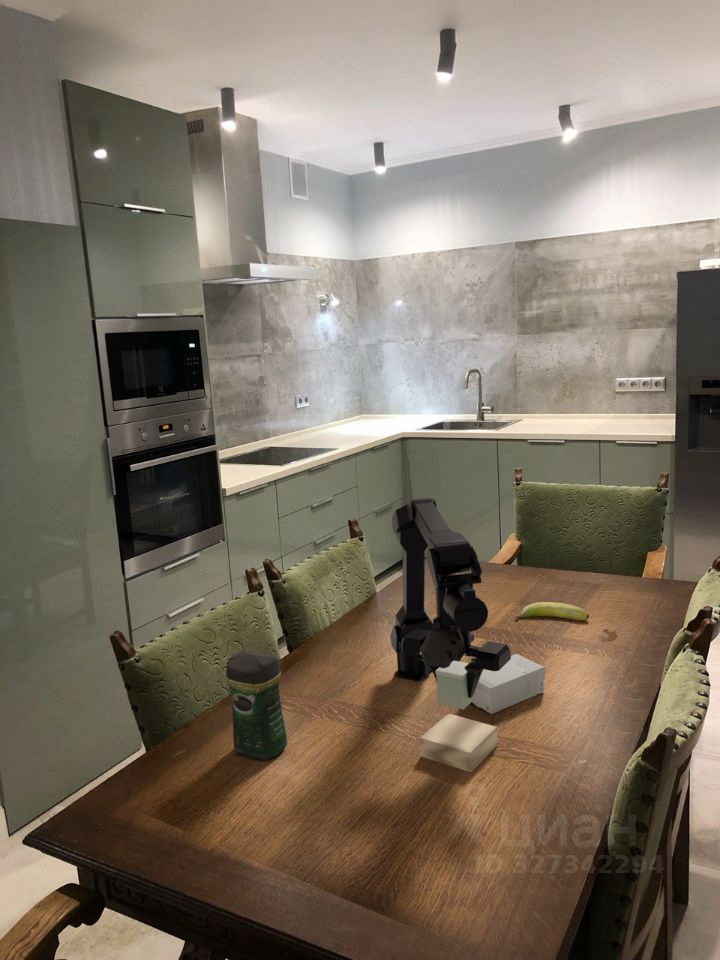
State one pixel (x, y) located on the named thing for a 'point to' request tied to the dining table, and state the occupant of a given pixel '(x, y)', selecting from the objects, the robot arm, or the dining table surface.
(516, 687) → the skincare box
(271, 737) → the coffee jar
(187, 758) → the dining table surface
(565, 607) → the green-yellow banana
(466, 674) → the tea tin
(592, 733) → the dining table surface
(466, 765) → the beech box
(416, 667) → the robot arm
